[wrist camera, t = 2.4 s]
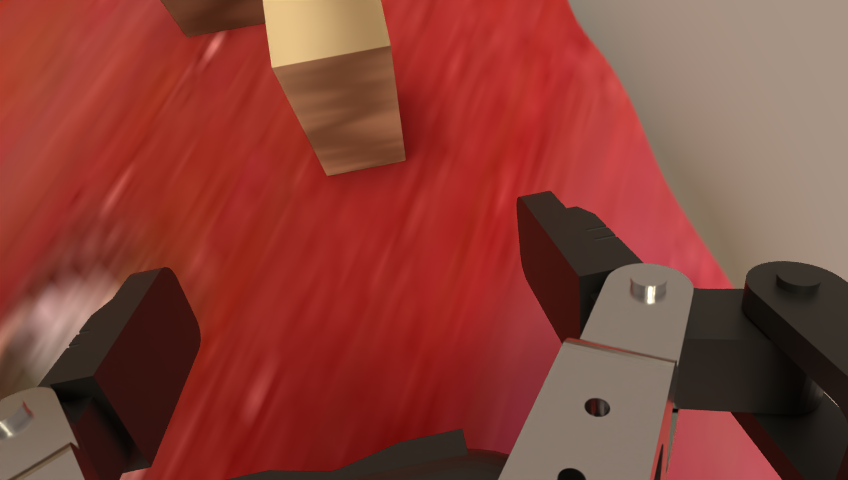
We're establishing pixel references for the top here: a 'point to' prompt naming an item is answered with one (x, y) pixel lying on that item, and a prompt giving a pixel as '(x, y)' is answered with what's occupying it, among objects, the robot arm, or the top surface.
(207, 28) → the slab base
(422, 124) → the top surface
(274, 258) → the top surface
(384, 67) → the pillar
